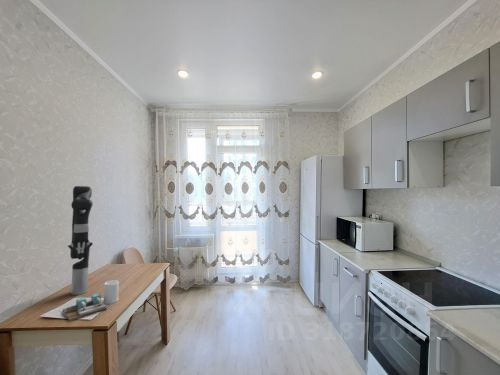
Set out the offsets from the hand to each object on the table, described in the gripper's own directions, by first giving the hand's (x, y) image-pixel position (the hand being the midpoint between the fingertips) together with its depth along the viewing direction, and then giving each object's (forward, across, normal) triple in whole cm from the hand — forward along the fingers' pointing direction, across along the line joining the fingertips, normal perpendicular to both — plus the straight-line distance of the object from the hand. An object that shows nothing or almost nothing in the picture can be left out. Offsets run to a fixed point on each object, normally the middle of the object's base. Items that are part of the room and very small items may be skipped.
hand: (79, 259), depth 144 cm
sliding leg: (+28, 0, +9) cm, 29 cm away
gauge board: (+29, -2, +9) cm, 30 cm away
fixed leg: (+28, -8, +9) cm, 30 cm away
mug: (+29, -18, +5) cm, 34 cm away
